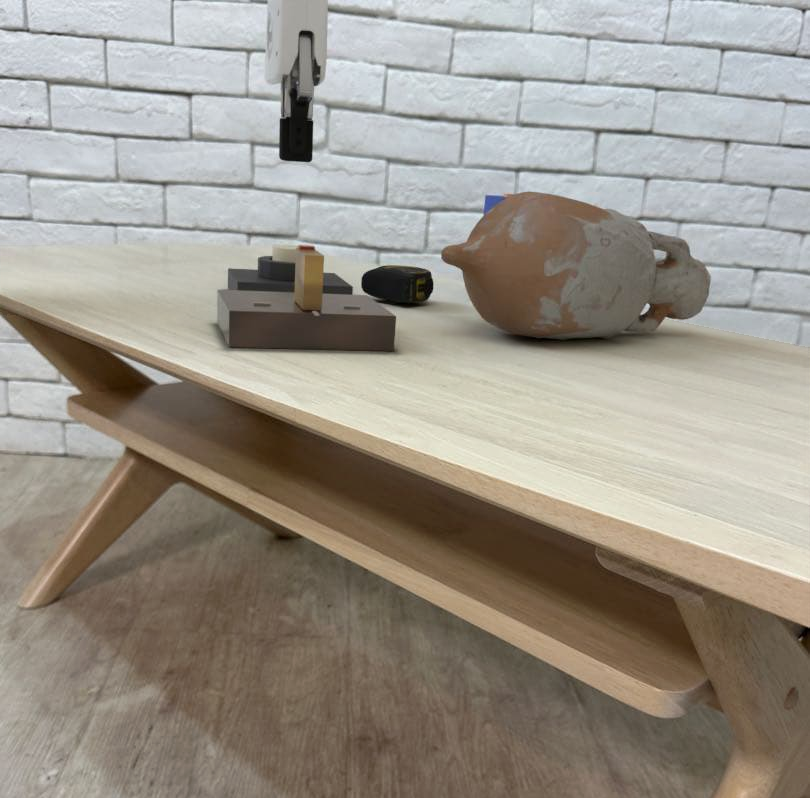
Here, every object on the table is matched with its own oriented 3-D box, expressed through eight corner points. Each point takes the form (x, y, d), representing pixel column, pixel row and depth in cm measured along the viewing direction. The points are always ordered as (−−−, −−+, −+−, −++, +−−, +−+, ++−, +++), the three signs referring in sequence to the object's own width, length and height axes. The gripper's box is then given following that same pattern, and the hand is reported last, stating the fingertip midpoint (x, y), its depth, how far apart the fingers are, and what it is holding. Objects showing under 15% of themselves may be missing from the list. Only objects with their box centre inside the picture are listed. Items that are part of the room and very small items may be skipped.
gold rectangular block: (321, 311, 83) (324, 252, 82) (302, 310, 83) (305, 251, 81) (312, 301, 88) (314, 245, 86) (294, 300, 87) (295, 244, 86)
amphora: (405, 188, 91) (668, 146, 101) (407, 350, 100) (647, 295, 111) (481, 235, 81) (764, 182, 91) (475, 409, 90) (732, 343, 101)
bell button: (274, 265, 104) (275, 247, 104) (270, 260, 108) (270, 244, 107) (308, 266, 105) (309, 249, 105) (303, 262, 109) (303, 245, 108)
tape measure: (356, 300, 110) (358, 265, 108) (397, 296, 115) (399, 263, 113) (404, 310, 106) (406, 274, 105) (443, 305, 111) (446, 271, 110)
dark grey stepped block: (237, 303, 102) (237, 263, 100) (227, 288, 111) (228, 251, 109) (351, 307, 105) (354, 268, 104) (333, 292, 114) (335, 256, 112)
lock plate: (230, 350, 81) (230, 311, 79) (217, 322, 91) (217, 287, 90) (397, 354, 84) (399, 316, 83) (365, 327, 95) (367, 293, 94)
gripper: (251, -36, 102) (250, 156, 108) (271, -59, 88) (269, 162, 95) (323, -28, 104) (318, 160, 110) (354, -49, 90) (345, 166, 97)
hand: (295, 160), depth 103 cm, fingers closed
